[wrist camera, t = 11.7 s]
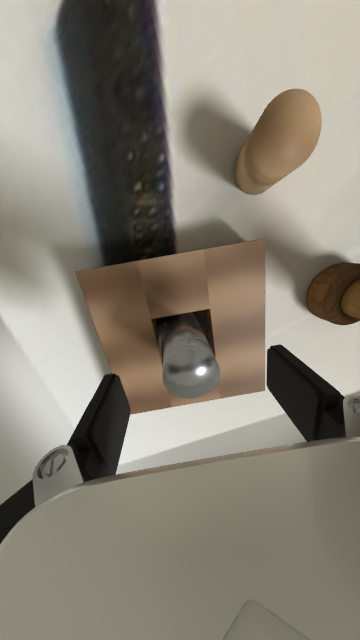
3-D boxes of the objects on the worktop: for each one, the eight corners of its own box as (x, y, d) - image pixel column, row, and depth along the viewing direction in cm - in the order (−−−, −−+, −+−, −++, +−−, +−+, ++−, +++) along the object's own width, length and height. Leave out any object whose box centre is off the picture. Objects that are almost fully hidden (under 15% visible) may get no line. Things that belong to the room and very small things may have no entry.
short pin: (251, 128, 15) (282, 71, 10) (289, 154, 15) (335, 113, 11) (225, 180, 16) (243, 152, 11) (261, 203, 17) (292, 185, 12)
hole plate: (92, 269, 18) (75, 271, 14) (247, 242, 18) (265, 238, 14) (132, 392, 23) (126, 415, 20) (251, 371, 23) (264, 390, 20)
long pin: (161, 313, 20) (156, 355, 11) (196, 307, 20) (217, 345, 11) (168, 344, 21) (168, 402, 13) (200, 339, 21) (222, 393, 13)
